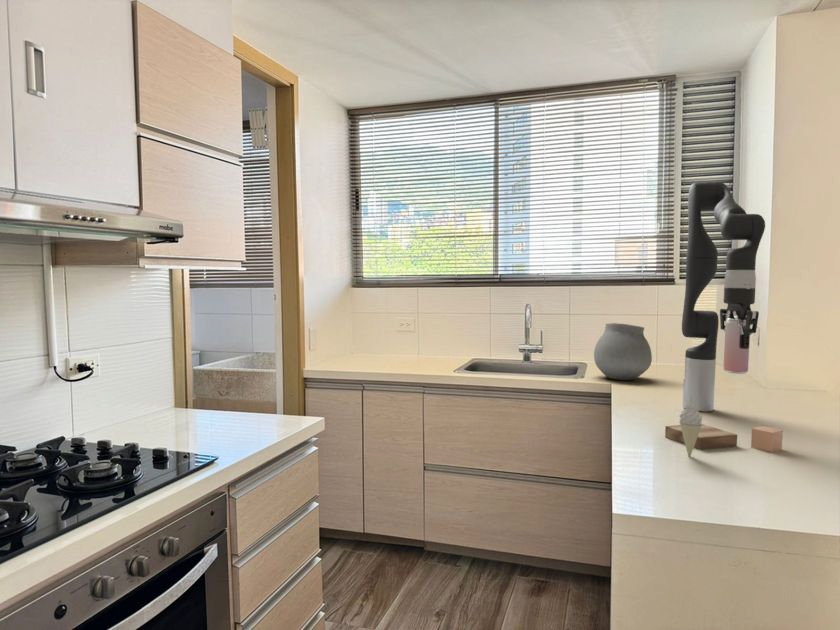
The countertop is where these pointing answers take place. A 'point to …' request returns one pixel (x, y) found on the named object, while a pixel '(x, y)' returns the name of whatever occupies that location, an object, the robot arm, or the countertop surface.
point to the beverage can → (734, 349)
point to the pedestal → (704, 437)
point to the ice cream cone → (690, 424)
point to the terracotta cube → (766, 439)
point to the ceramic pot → (622, 352)
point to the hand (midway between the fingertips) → (736, 346)
